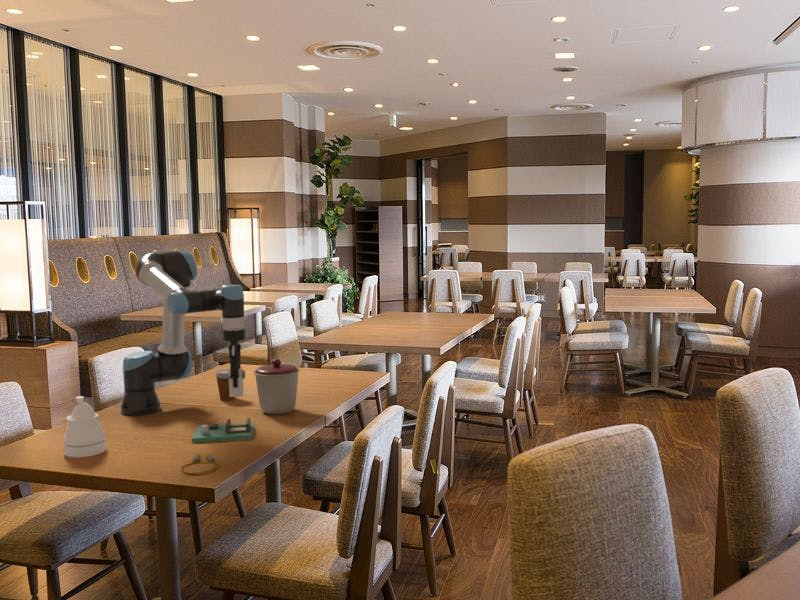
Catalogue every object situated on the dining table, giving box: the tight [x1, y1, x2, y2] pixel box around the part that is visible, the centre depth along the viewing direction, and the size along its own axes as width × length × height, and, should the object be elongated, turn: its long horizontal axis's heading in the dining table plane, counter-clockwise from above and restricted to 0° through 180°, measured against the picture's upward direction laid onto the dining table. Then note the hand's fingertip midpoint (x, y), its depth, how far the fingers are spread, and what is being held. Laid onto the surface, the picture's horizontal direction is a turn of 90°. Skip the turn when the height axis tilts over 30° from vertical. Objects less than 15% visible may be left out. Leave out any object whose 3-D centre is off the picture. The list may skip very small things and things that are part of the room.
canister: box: [253, 358, 301, 415], centre depth 291 cm, size 18×18×21 cm
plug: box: [228, 368, 246, 398], centre depth 260 cm, size 5×4×9 cm
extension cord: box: [180, 453, 220, 476], centre depth 228 cm, size 12×16×2 cm
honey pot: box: [63, 395, 107, 458], centre depth 244 cm, size 13×13×18 cm
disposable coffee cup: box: [214, 368, 236, 402], centre depth 314 cm, size 10×10×12 cm
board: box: [191, 417, 255, 443], centre depth 261 cm, size 20×16×4 cm
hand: (236, 394), depth 260 cm, fingers closed on plug, 4 cm apart
